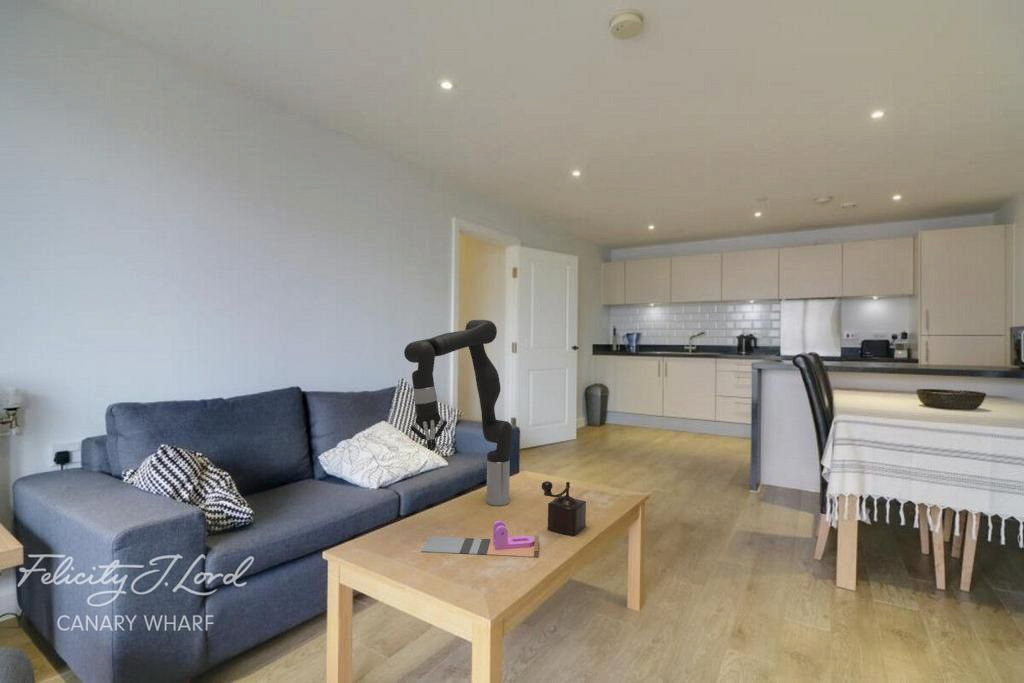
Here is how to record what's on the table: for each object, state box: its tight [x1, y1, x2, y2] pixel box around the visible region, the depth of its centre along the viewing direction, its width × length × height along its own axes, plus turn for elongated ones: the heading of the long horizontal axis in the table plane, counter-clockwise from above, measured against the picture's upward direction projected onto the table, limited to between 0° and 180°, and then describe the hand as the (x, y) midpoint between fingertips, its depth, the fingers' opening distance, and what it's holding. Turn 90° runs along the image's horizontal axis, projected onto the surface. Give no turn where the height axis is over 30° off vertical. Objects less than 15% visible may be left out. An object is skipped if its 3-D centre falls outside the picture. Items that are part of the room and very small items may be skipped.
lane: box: [420, 535, 540, 558], centre depth 152 cm, size 11×36×2 cm, turn 86°
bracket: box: [492, 520, 535, 550], centre depth 153 cm, size 13×6×7 cm, turn 101°
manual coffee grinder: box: [541, 480, 587, 537], centre depth 165 cm, size 16×11×18 cm
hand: (432, 449), depth 163 cm, fingers closed
